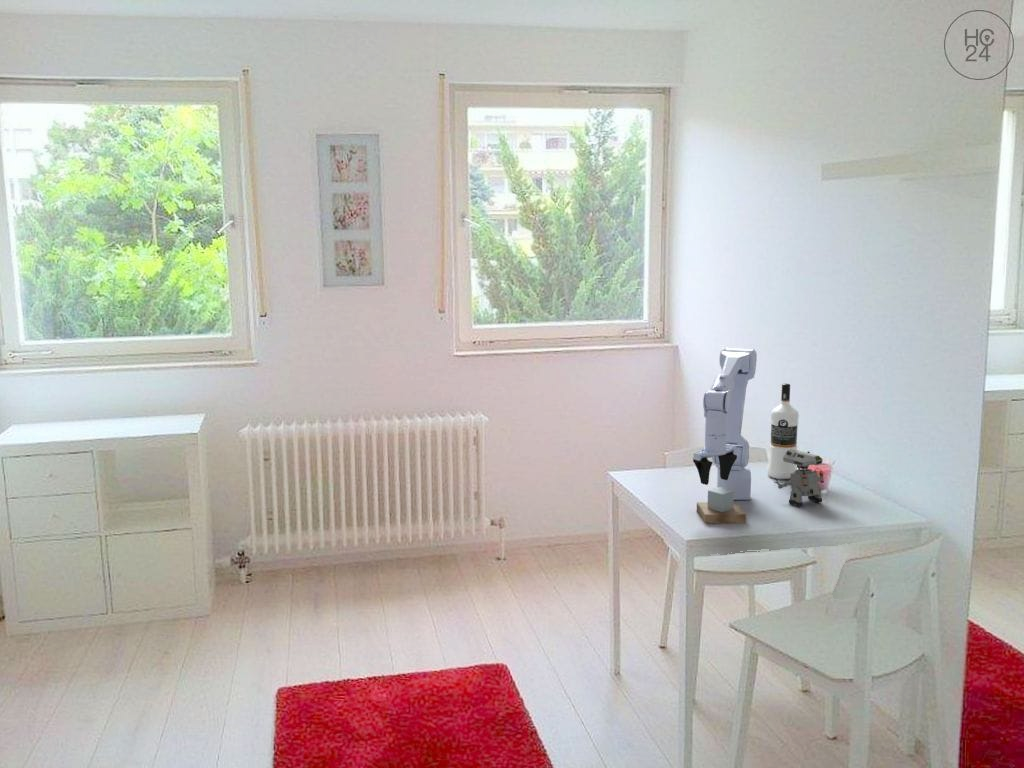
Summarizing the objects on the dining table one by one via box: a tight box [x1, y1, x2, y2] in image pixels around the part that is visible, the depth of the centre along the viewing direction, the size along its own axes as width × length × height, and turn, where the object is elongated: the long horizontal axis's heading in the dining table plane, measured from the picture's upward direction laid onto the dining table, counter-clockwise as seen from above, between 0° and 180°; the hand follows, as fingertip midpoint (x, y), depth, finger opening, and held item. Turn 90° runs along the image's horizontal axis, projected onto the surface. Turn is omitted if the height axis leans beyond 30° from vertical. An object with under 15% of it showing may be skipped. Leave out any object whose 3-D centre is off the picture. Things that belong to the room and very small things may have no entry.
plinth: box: [696, 501, 747, 525], centre depth 254 cm, size 11×11×2 cm
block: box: [707, 487, 735, 512], centre depth 254 cm, size 5×5×5 cm
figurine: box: [774, 449, 825, 508], centre depth 266 cm, size 9×12×15 cm
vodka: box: [766, 383, 800, 480], centre depth 291 cm, size 9×9×30 cm
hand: (714, 481), depth 256 cm, fingers open, 7 cm apart
